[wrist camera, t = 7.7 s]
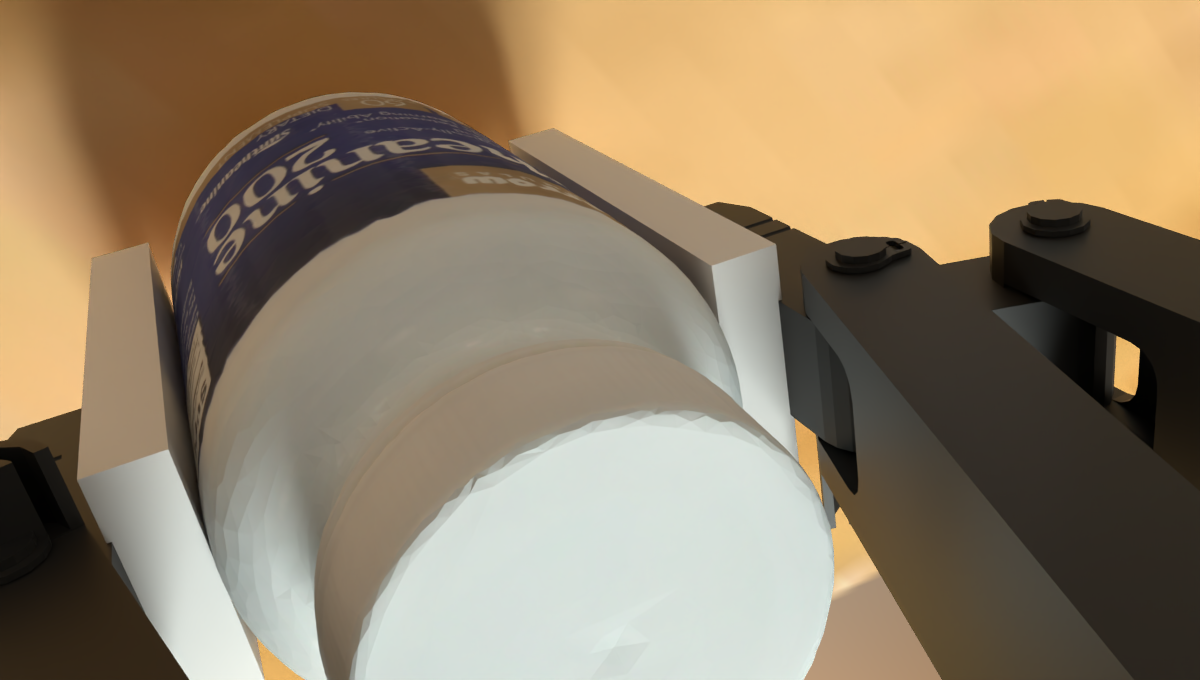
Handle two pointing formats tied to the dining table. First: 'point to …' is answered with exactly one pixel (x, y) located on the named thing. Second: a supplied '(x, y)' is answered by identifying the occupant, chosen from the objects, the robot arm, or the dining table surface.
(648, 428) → the pill bottle
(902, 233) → the dining table surface
